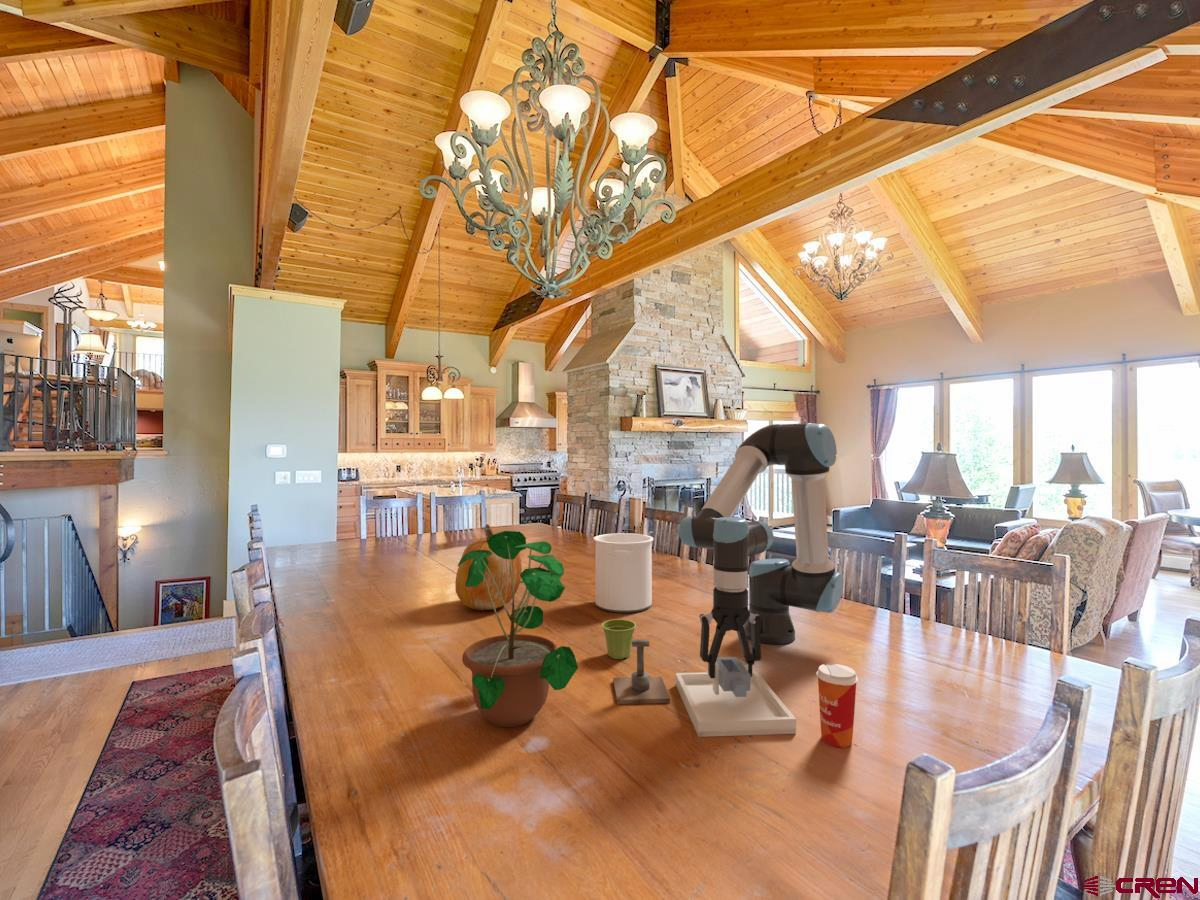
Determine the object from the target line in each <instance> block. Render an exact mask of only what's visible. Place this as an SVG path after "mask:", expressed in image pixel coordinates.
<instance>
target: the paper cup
mask: <svg viewBox="0 0 1200 900" xmlns="http://www.w3.org/2000/svg"><path fill="white" fill-rule="evenodd" d="M815 674H816V677H817V686H818V700H819V701H818V702H819V703H818V704H819V721H820V734H821V740H822V741H823V742H824V743H825V744H827V745H829V746H831V747H834V748H839V749H842V748H844V749H846V748H849V747H851V746H852V743H853V739H854V738H853V737H854V736H853V735H854V722H855V710H856V709H855V707H856V696H857V695H856V693H857V683H858V682H859V678H858V676H857V673H856V671H855V670H854V669H853V668H851V667H850V666H846V665H843V664H838V663H834V664H833V663H827V664H823V663H822V664H821V665H819V666H818V669H817V671H816V672H815Z"/></svg>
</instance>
